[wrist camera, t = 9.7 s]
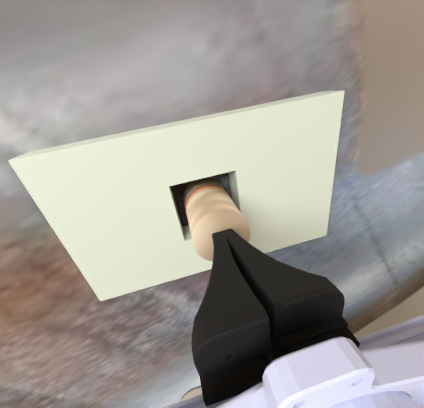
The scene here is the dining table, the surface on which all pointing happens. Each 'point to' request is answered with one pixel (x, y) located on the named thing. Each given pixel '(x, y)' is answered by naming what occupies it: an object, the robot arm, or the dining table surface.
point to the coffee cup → (192, 393)
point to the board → (181, 173)
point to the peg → (211, 214)
